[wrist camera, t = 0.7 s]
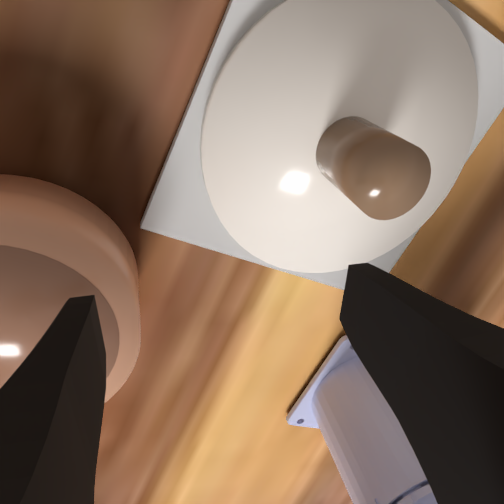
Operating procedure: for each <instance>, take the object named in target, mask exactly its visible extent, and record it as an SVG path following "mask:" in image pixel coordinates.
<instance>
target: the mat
mask: <svg viewBox="0 0 504 504" xmlns="http://www.w3.org/2000/svg"><path fill="white" fill-rule="evenodd" d="M282 1H283V0H230V2H229V4H228V7H227V9H226V12H225V14H224V17H223V19H222V22H221V24H220V26H219V29H218V31H217V34H216V36H215V39H214V41H213V44H212V46H211V49H210V51H209V54H208V56H207V59H206V61H205V64H204V66H203V69H202V71H201V74H200V76H199V78H198V81H197V83H196V86H195V88H194V91H193V93H192V96H191V98H190V101H189V103H188V106H187V108H186V111H185V113H184V116H183V118H182V121H181V123H180V126H179V128H178V130H177V133H176V135H175V138H174V140H173V143H172V145H171V148H170V150H169V153H168V155H167V158H166V160H165V163H164V165H163V168H162V170H161V173H160V175H159V178H158V180H157V183H156V185H155V187H154V190H153V192H152V195H151V197H150V200H149V202H148V205H147V207H146V210H145V212H144V215H143V217H142V220H141V222H140V228H142V229H145V230H148V231H151V232H155V233H158V234H161V235H165V236H168V237H171V238H174V239H178V240H181V241H184V242H188V243H191V244H194V245H197V246H201V247H204V248H207V249H211V250H214V251H217V252H220V253H224V254H227V255H230V256H234V257H237V258H240V259H243V260H247V261H250V262H253V263H257V264H260V265H263V266H266V267H270V268H273V269H276V270H280V271H283V272H286V273H289V274H293V275H296V276H299V277H303V278H306V279H309V280H313V281H316V282H319V283H322V284H326V285H329V286H332V287H336V288H339V289H342V290H344V289H345V283H346V277H347V271H348V269H344V270H340V271H333V272H325V273H305V272H295V271H291V270H286V269H282V268H279V267H276V266H273V265H271V264H268V263H266V262H264V261H262V260H260V259H259V258H257V257H255V256H253V255H252V254H251V253H249V252H248V251H247V250H245V249H244V248H243V247H241V246H240V245H239V244H238V243H237V242H236V241H235V239H234V238H233V237H232V236H231V235H230V234H229V233H228V231H227V230H226V229H225V227H224V226H223V224H222V223H221V222H220V220H219V218H218V216H217V214H216V212H215V210H214V208H213V206H212V203H211V201H210V198H209V195H208V192H207V190H206V187H205V184H204V179H203V174H202V169H201V160H200V135H201V124H202V119H203V115H204V110H205V105H206V102H207V99H208V96H209V93H210V90H211V88H212V85H213V82H214V80H215V78H216V76H217V74H218V72H219V70H220V68H221V66H222V64H223V62H224V61H225V59H226V58H227V56H228V55H229V53H230V52H231V50H232V49H233V47H234V46H235V44H236V43H237V42H238V41H239V39H240V38H241V37H242V36H243V35H244V34H245V33H246V31H247V30H248V29H249V28H250V27H251V26H252V25H253V24H254V23H255V22H256V21H257V20H258V19H260V18H261V17H262V16H263V15H264V14H265V13H266V12H267V11H269V10H270V9H272V8H273V7H275V6H276V5H277V4H279V3H280V2H282ZM435 1H436V2H437V3H439V4H440V5H441V6H442V7H443V8H444V9H445V10H446V11H447V12H448V13H449V14H450V16H451V17H452V18H453V19H454V21H455V22H456V23H457V25H458V26H459V28H460V29H461V31H462V33H463V35H464V37H465V39H466V41H467V43H468V45H469V48H470V51H471V54H472V57H473V59H474V64H475V69H476V74H477V81H478V96H479V97H478V115H477V121H476V127H475V133H474V136H473V140H472V143H471V147H470V150H469V153H468V156H467V158H466V161H467V160H468V158H469V157H470V155H471V154H472V152H473V151H474V150H475V148H476V147H477V145H478V144H479V142H480V141H481V139H482V138H483V137H484V135H485V134H486V132H487V131H488V129H489V128H490V127H491V125H492V124H493V122H494V121H495V119H496V118H497V116H498V115H499V114H500V112H501V111H502V109H503V108H504V44H503V43H502V42H501V41H500V40H498V39H497V38H496V37H494V36H493V35H492V34H491V33H489V32H488V31H487V30H485V29H484V28H483V27H482V26H480V25H479V24H478V23H476V22H475V21H474V20H473V19H471V18H470V17H469V16H467V15H466V14H465V13H464V12H462V11H461V10H460V9H459V8H457V7H456V6H455V5H453V4H452V3H451V2H450V1H448V0H435ZM466 161H465V163H466ZM465 163H464V164H465ZM420 228H421V227H420ZM420 228H419V229H420ZM419 229H418V230H419ZM418 230H417V231H415V232H414V233H413V234H412V235H411V236H410V237H408V238H407V239H406V240H404V241H403V242H402V243H400V244H399V245H398V246H396V247H395V248H393V249H391V250H390V251H388V252H386V253H385V254H383V255H381V256H379V257H377V258H375V259H373V260H371V261H369V262H366V263H369V264H372V265H374V266H376V267H378V268H380V269H382V270H384V271H386V272H388V273H389V272H390V271H391V269H392V268H393V266H394V265H395V264H396V262H397V261H398V259H399V258H400V256H401V255H402V253H403V252H404V251H405V249H406V248H407V246H408V245H409V243H410V242H411V240H412V239H413V238H414V236H415V235H416V233H417V232H418Z"/></svg>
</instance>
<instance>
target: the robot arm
mask: <svg viewBox="0 0 504 504" xmlns="http://www.w3.org/2000/svg"><path fill="white" fill-rule="evenodd" d="M340 321H341V323H342V326H343V328H344V330H345V333H346V335H345V336H343V337H341V338H340V339H339V341H338V342H337V344H336V345H335V347H334V348H333V349H332V351H331V352H330V354H329V355H328V357H327V358H326V360H325V361H324V362H323V364H322V365H321V367H320V368H319V370H318V371H317V373H316V374H315V376H314V377H313V378H312V380H311V381H310V383H309V384H308V386H307V387H306V389H305V390H304V392H303V393H302V394H301V396H300V397H299V399H298V400H297V402H296V403H295V405H294V406H293V407H292V409H291V410H290V412H289V413H288V415H287V417H286V420H287V423H288V424H290V425H295V426H303V427H312V428H320V430H321V433H322V435H323V437H324V439H325V442H326V444H327V446H328V448H329V451H330V453H331V455H332V457H333V459H334V462H335V464H336V466H337V468H338V471H339V473H340V475H341V477H342V480H343V482H344V484H345V486H346V489H347V491H348V493H349V495H350V498H351V500H352V502H353V504H504V329H503V328H501V327H498V326H496V325H493V324H491V323H488V322H486V321H483V320H481V319H479V318H476V317H474V316H472V315H469V314H467V313H465V312H463V311H461V310H459V309H457V308H454V307H452V306H450V305H448V304H446V303H444V302H442V301H440V300H438V299H436V298H434V297H432V296H430V295H428V294H427V293H425V292H423V291H421V290H419V289H417V288H415V287H413V286H412V285H410V284H408V283H406V282H404V281H402V280H401V279H399V278H397V277H395V276H393V275H391V274H389V273H388V272H386V271H384V270H382V269H380V268H378V267H376V266H374V265H372V264H369V263H360V264H351V265H348V271H347V277H346V283H345V289H344V295H343V301H342V307H341V313H340ZM105 393H106V350H105V345H104V340H103V335H102V330H101V325H100V320H99V315H98V310H97V305H96V300H95V295H89V296H80V297H72V298H69V299H68V300H67V301H66V302H65V304H64V306H63V307H62V309H61V310H60V312H59V313H58V315H57V316H56V318H55V319H54V321H53V322H52V323H51V325H50V326H49V328H48V329H47V331H46V332H45V333H44V335H43V336H42V337H41V339H40V340H39V342H38V343H37V344H36V346H35V347H34V348H33V350H32V351H31V352H30V354H29V355H28V356H27V357H26V359H25V360H24V361H23V362H22V363H21V365H20V366H19V367H18V368H17V369H16V371H15V372H14V373H13V374H12V375H11V377H10V378H9V379H8V380H7V381H6V383H5V384H4V385H3V386H2V387H1V388H0V504H94V485H95V473H96V464H97V456H98V448H99V440H100V433H101V425H102V417H103V409H104V401H105Z"/></svg>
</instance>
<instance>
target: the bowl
mask: <svg viewBox="0 0 504 504" xmlns="http://www.w3.org/2000/svg"><path fill="white" fill-rule="evenodd" d="M89 295H95V300H96V305H97V310H98V315H99V320H100V325H101V330H102V335H103V340H104V345H105V350H106V393H105V401H104V403H105V402H107V401H108V400H109V399H110V398H111V397H112V396H113V395H114V394H115V393H116V392H117V391H118V390H119V389H120V388H121V387H122V385H123V384H124V383H125V382H126V380H127V379H128V377H129V375H130V374H131V372H132V370H133V368H134V366H135V363H136V361H137V358H138V355H139V349H140V344H141V324H140V301H139V278H138V269H137V263H136V260H135V256H134V253H133V250H132V248H131V246H130V244H129V242H128V240H127V238H126V237H125V236H124V234H123V233H122V231H121V230H120V228H119V227H118V226H117V225H116V224H115V223H114V222H113V220H112V219H111V218H110V217H109V216H108V215H107V214H105V213H104V212H103V211H102V210H101V209H100V208H98V207H97V206H96V205H94V204H93V203H91V202H90V201H88V200H87V199H85V198H84V197H82V196H80V195H78V194H76V193H74V192H72V191H70V190H69V189H66V188H64V187H61V186H58V185H56V184H53V183H51V182H47V181H43V180H39V179H35V178H31V177H24V176H18V175H5V174H0V388H1V387H2V386H3V385H4V384H5V383H6V381H7V380H8V379H9V378H10V377H11V375H12V374H13V373H14V372H15V371H16V369H17V368H18V367H19V366H20V365H21V363H22V362H23V361H24V360H25V359H26V357H27V356H28V355H29V354H30V352H31V351H32V350H33V348H34V347H35V346H36V344H37V343H38V342H39V340H40V339H41V337H42V336H43V335H44V333H45V332H46V331H47V329H48V328H49V326H50V325H51V323H52V322H53V321H54V319H55V318H56V316H57V315H58V313H59V312H60V310H61V309H62V307H63V306H64V304H65V302H66V301H67V300H68V299H69V298H72V297H80V296H89Z"/></svg>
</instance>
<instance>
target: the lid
mask: <svg viewBox="0 0 504 504" xmlns="http://www.w3.org/2000/svg"><path fill="white" fill-rule="evenodd" d="M478 97H479V96H478V81H477V74H476V69H475V64H474V59H473V57H472V54H471V51H470V48H469V45H468V43H467V41H466V39H465V37H464V35H463V33H462V31H461V29H460V28H459V26H458V25H457V23H456V22H455V21H454V19H453V18H452V17H451V16H450V14H449V13H448V12H447V11H446V10H445V9H444V8H443V7H442V6H441V5H440V4H439V3H437V2H436V1H435V0H283V1H282V2H280V3H279V4H277V5H276V6H275V7H273V8H272V9H270V10H269V11H267V12H266V13H265V14H264V15H263V16H262V17H261V18H260V19H258V20H257V21H256V22H255V23H254V24H253V25H252V26H251V27H250V28H249V29H248V30H247V31H246V33H245V34H244V35H243V36H242V37H241V38H240V39H239V41H238V42H237V43H236V44H235V46H234V47H233V49H232V50H231V52H230V53H229V55H228V56H227V58H226V59H225V61H224V62H223V64H222V66H221V68H220V70H219V72H218V74H217V76H216V78H215V80H214V82H213V85H212V88H211V90H210V93H209V96H208V99H207V102H206V105H205V110H204V115H203V119H202V124H201V135H200V160H201V169H202V174H203V179H204V184H205V187H206V190H207V192H208V195H209V198H210V201H211V203H212V206H213V208H214V210H215V212H216V214H217V216H218V218H219V220H220V222H221V223H222V224H223V226H224V227H225V229H226V230H227V231H228V233H229V234H230V235H231V236H232V237H233V238H234V239H235V241H236V242H237V243H238V244H239V245H240V246H241V247H243V248H244V249H245V250H247V251H248V252H249V253H251V254H252V255H253V256H255V257H257V258H259V259H260V260H262V261H264V262H266V263H268V264H271V265H273V266H276V267H279V268H282V269H286V270H291V271H295V272H305V273H325V272H333V271H340V270H344V269H348V265H351V264H360V263H366V262H369V261H371V260H373V259H375V258H377V257H379V256H381V255H383V254H385V253H386V252H388V251H390V250H391V249H393V248H395V247H396V246H398V245H399V244H400V243H402V242H403V241H404V240H406V239H407V238H408V237H410V236H411V235H412V234H413V233H414V232H415V231H417V230H418V229H419V228H420V227H421V226H422V225H423V224H424V223H425V222H426V221H427V220H428V219H429V218H430V217H431V216H432V214H433V213H434V212H435V211H436V210H437V208H438V207H439V206H440V204H441V203H442V202H443V201H444V199H445V198H446V196H447V195H448V193H449V192H450V190H451V188H452V187H453V185H454V184H455V182H456V180H457V178H458V176H459V174H460V172H461V170H462V168H463V166H464V163H465V161H466V158H467V156H468V153H469V150H470V147H471V143H472V140H473V136H474V133H475V127H476V121H477V115H478Z"/></svg>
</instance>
